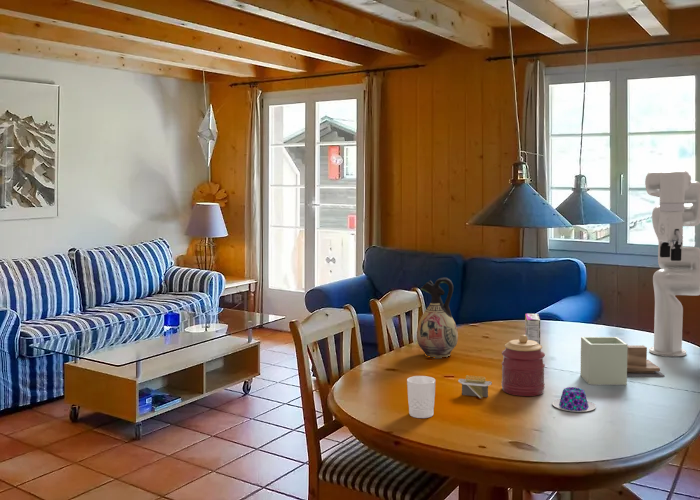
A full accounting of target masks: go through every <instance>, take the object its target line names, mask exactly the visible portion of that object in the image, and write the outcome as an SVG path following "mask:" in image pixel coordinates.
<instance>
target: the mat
mask: <svg viewBox="0 0 700 500" xmlns="http://www.w3.org/2000/svg"><path fill="white" fill-rule="evenodd" d="M628 377H631V378H633V377H638V378H639V377H643V378H645V377H647V378H648V377H649V378H650V377H651V378H655V377H657V378H661V377H662V378H664V377H665V374H663V373H662V372H661V371H654V373H627V378H628Z"/></svg>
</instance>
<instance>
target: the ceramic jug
mask: <svg viewBox="0 0 700 500" xmlns="http://www.w3.org/2000/svg"><path fill="white" fill-rule="evenodd" d="M441 284H446V285H447V286H448V292H447V296H446V299H445V301H444V302H443V299H442V297H441V296H444V295H445V290H444V289H443V288H442V287H441V286H440V285H441ZM420 291H422V292H425V293H428V294H429V295H430V296H431V302H430V303H429V304H428V306H427V307H426V309H425V310H424V311H423V314H422V315H421V317H420V319H419V322H418V325H417V330H416V340H417V341H416V342H417V344H418V346H419V347H420V349H421V350H422V351H423V352H424V355H425V354H426V355H427V356H430V357H435V358H434V359H443V358H442V357H446V358H449V357H448V356H450V355H451V353H452V351H453V350H454V349H455V347H456V346H457V345H458V340H459V333H458V328H457V324H456V321H455V320H454V318H453V316H452V312H451V309H450V303H451V299H452V297H453V294H454V293H453V292H454V284H453V282H452V280H451V279H450V278H448V277H440V278H437V279H436V281H435V282H434V283H433V281H432V280H431V279H430V280H428V281H427V282H425V284H424V285H423V286H422V287H421V288H420ZM450 357H451V356H450Z"/></svg>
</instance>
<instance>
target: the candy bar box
mask: <svg viewBox="0 0 700 500" xmlns="http://www.w3.org/2000/svg"><path fill="white" fill-rule="evenodd" d="M524 325H525V327H524V329H525V330H524V332H525V333H524V335H526V336H527V338H528V340H533V341H536V342H537V343H538V344H540V345H541V318H540V316H539V313H525V315H524Z"/></svg>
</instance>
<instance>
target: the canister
mask: <svg viewBox="0 0 700 500" xmlns="http://www.w3.org/2000/svg"><path fill="white" fill-rule="evenodd" d="M504 348H505V349H504V350H502V351H501V355H502V356H503V358H502V359H503V360H502V361H501V365H502V367H501V372H502V373H501V389H502V391H503V392H504V393H506V394H508V395H512V396H520V397H535V396H539V395H541V394H542V395H543V394H544V390H545V366H546V364H545V363H544V358H545V357H546V353H545V352H544V351H542V349H543V346H542V345H541V343H540V344H538V343H537V342H536V341H533V340H528V338H527V336H526V335H525V334H521V335H519V337H518V339H511V340H508V342H507V343H505V344H504Z"/></svg>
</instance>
